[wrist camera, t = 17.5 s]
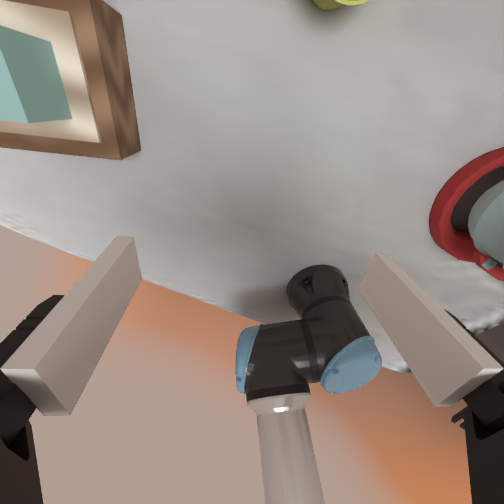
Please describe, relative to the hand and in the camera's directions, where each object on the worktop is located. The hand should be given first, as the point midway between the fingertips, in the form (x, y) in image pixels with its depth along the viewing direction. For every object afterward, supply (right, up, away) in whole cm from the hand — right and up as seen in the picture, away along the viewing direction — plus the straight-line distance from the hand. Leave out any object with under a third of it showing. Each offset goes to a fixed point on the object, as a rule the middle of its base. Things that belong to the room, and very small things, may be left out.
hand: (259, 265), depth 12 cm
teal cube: (-25, +20, +12) cm, 35 cm away
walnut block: (-26, +25, +19) cm, 41 cm away
